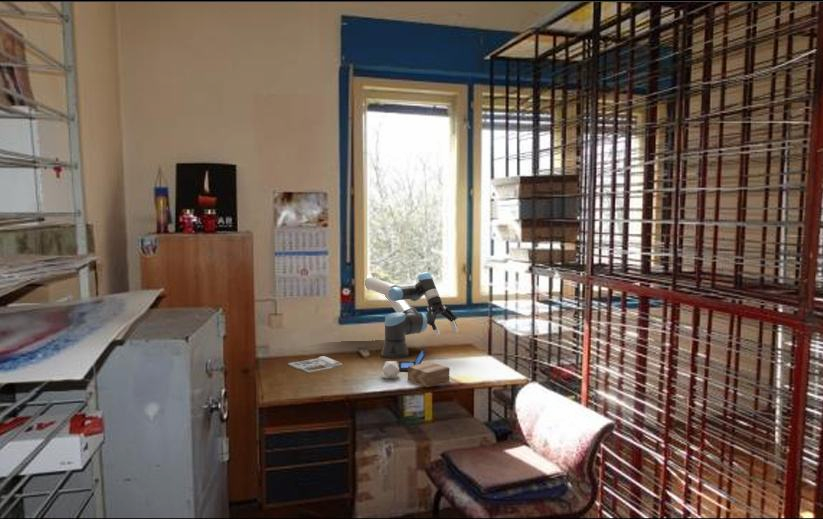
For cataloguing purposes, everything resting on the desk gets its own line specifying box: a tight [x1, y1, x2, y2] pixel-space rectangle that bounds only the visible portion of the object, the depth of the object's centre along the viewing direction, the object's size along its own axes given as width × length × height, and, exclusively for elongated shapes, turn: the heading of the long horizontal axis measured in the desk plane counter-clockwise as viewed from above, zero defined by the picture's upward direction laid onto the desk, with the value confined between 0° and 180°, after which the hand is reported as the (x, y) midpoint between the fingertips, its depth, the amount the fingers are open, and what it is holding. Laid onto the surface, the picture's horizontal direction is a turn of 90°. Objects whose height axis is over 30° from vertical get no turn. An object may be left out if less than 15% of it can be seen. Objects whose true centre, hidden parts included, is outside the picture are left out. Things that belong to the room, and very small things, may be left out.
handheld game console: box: [398, 347, 426, 373], centre depth 277 cm, size 16×13×9 cm
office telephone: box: [287, 355, 343, 374], centre depth 280 cm, size 23×3×20 cm
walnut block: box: [407, 361, 450, 388], centre depth 255 cm, size 14×14×7 cm
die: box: [382, 360, 400, 380], centre depth 259 cm, size 8×9×10 cm
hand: (447, 333), depth 286 cm, fingers open, 13 cm apart
